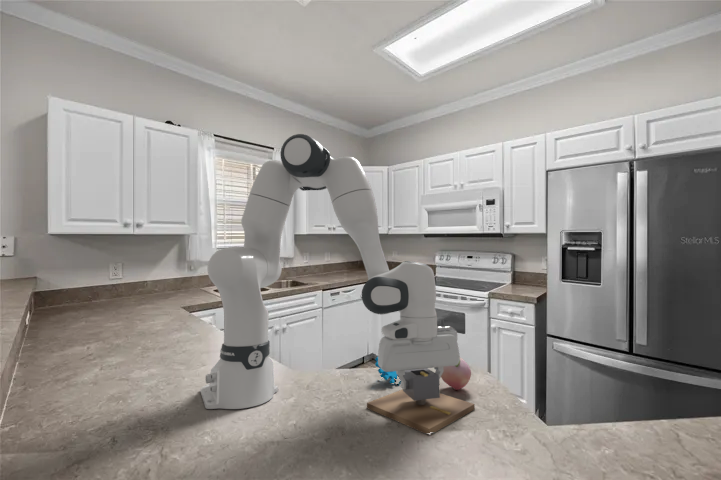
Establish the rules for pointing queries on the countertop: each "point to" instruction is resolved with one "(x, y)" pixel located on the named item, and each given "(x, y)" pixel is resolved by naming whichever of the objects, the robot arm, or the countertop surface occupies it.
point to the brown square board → (421, 410)
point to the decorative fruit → (457, 375)
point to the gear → (386, 373)
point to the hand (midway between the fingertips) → (420, 387)
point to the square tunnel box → (422, 384)
